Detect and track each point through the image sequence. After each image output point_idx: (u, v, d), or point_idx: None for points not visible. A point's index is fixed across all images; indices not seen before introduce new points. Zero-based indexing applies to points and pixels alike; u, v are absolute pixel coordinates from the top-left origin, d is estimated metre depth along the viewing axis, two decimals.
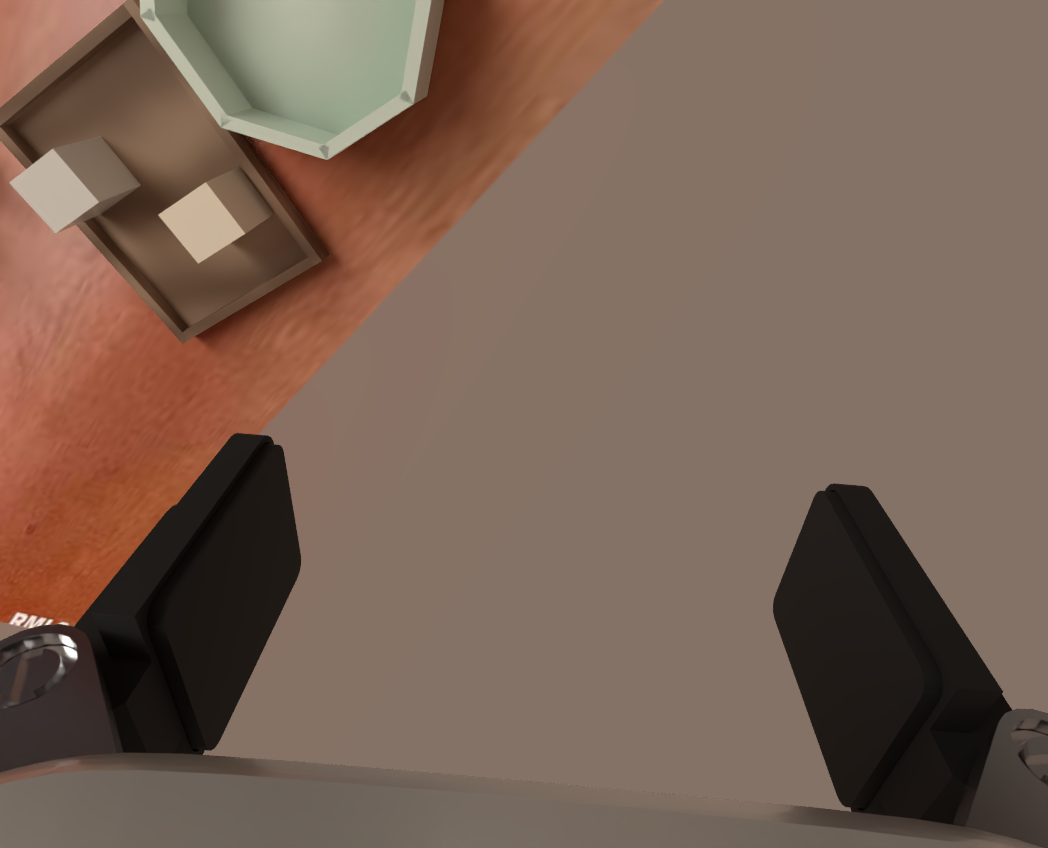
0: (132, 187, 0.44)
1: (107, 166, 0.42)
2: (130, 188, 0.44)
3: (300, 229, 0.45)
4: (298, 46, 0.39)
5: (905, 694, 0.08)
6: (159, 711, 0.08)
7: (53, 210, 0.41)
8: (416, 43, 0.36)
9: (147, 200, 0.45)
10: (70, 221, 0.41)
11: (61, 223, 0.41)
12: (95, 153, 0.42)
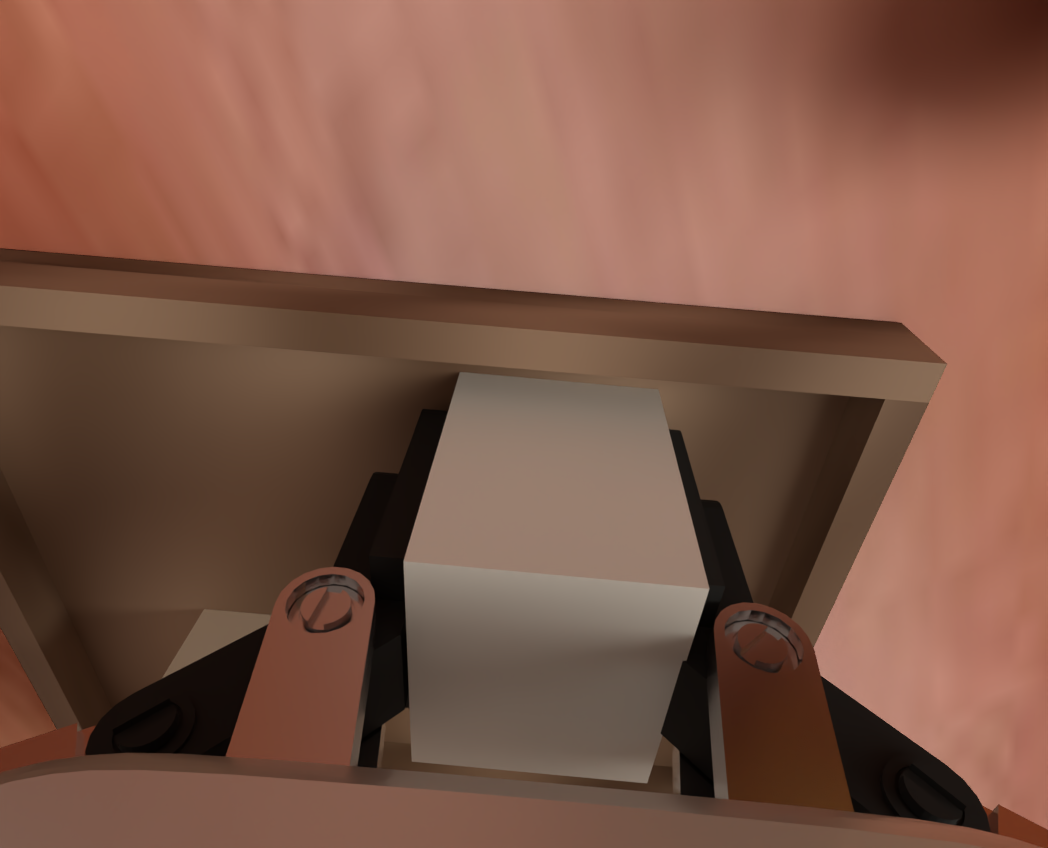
0: None
1: None
2: None
3: None
4: None
5: None
6: None
7: (490, 630, 0.08)
8: None
9: None
10: (411, 645, 0.08)
11: (425, 615, 0.08)
12: None
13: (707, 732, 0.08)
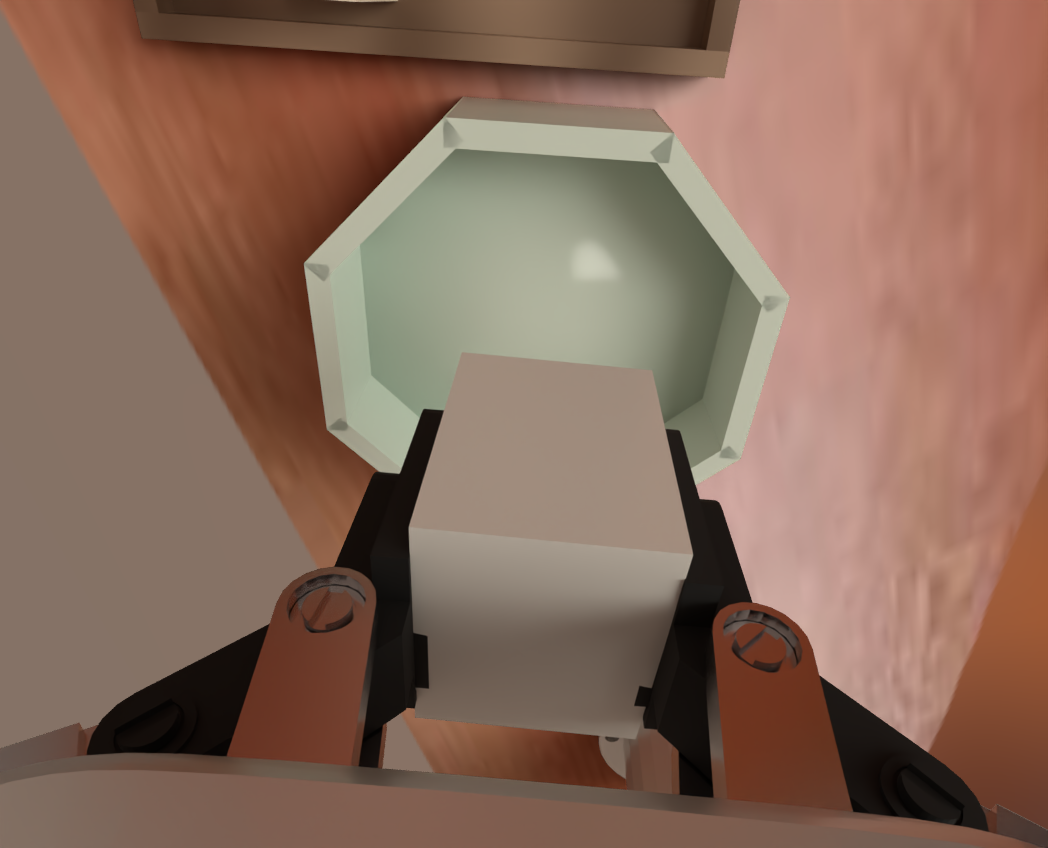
0: None
1: None
2: None
3: None
4: (500, 269, 0.24)
5: None
6: (409, 647, 0.09)
7: (489, 593, 0.09)
8: None
9: None
10: (415, 606, 0.09)
11: (429, 578, 0.09)
12: None
13: (706, 732, 0.08)
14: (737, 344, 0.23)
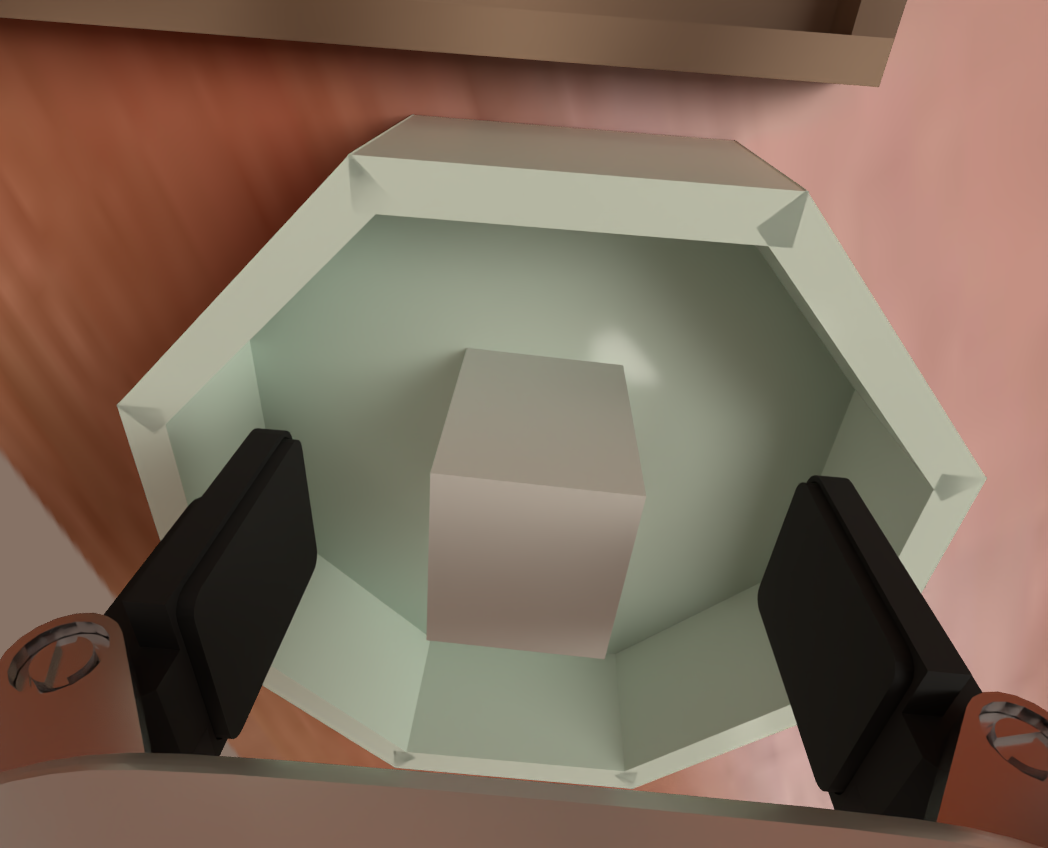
0: None
1: None
2: None
3: None
4: None
5: (878, 678, 0.08)
6: (186, 698, 0.08)
7: (490, 529, 0.11)
8: (305, 699, 0.16)
9: None
10: (432, 540, 0.11)
11: (443, 516, 0.11)
12: None
13: None
14: None
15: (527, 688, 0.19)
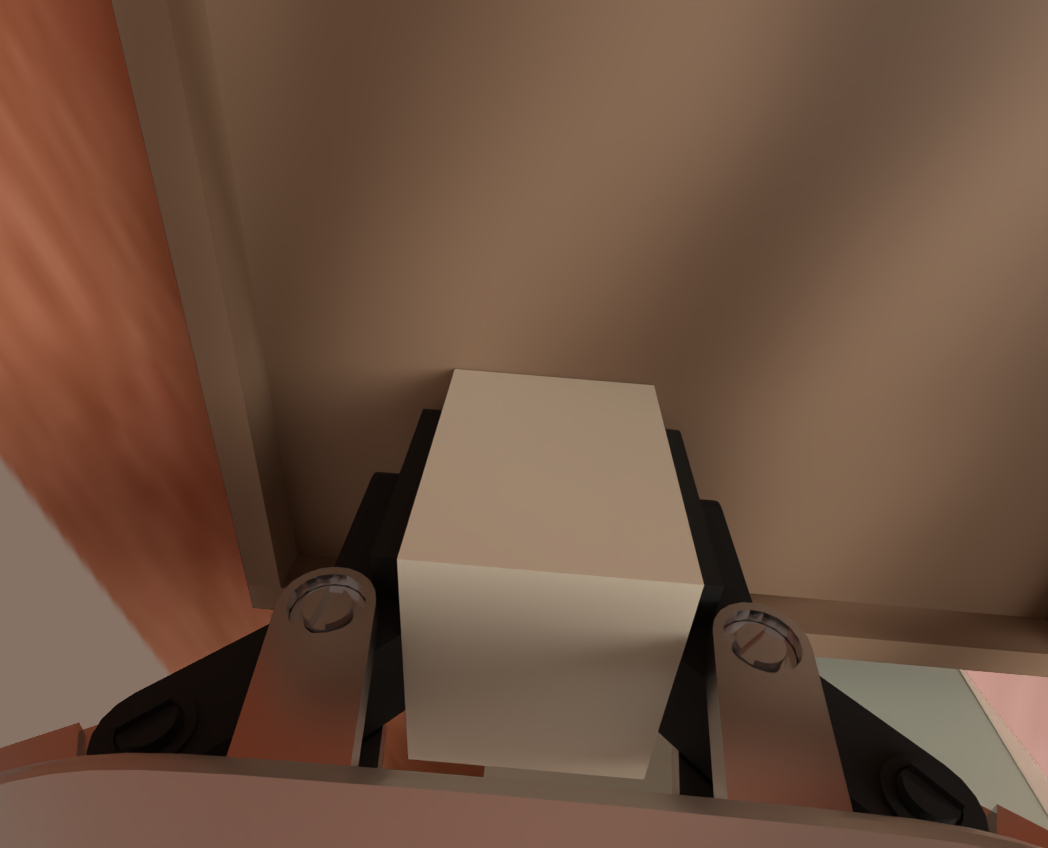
0: None
1: None
2: None
3: None
4: None
5: None
6: None
7: None
8: None
9: (786, 217, 0.10)
10: None
11: None
12: None
13: (706, 732, 0.08)
14: None
15: None
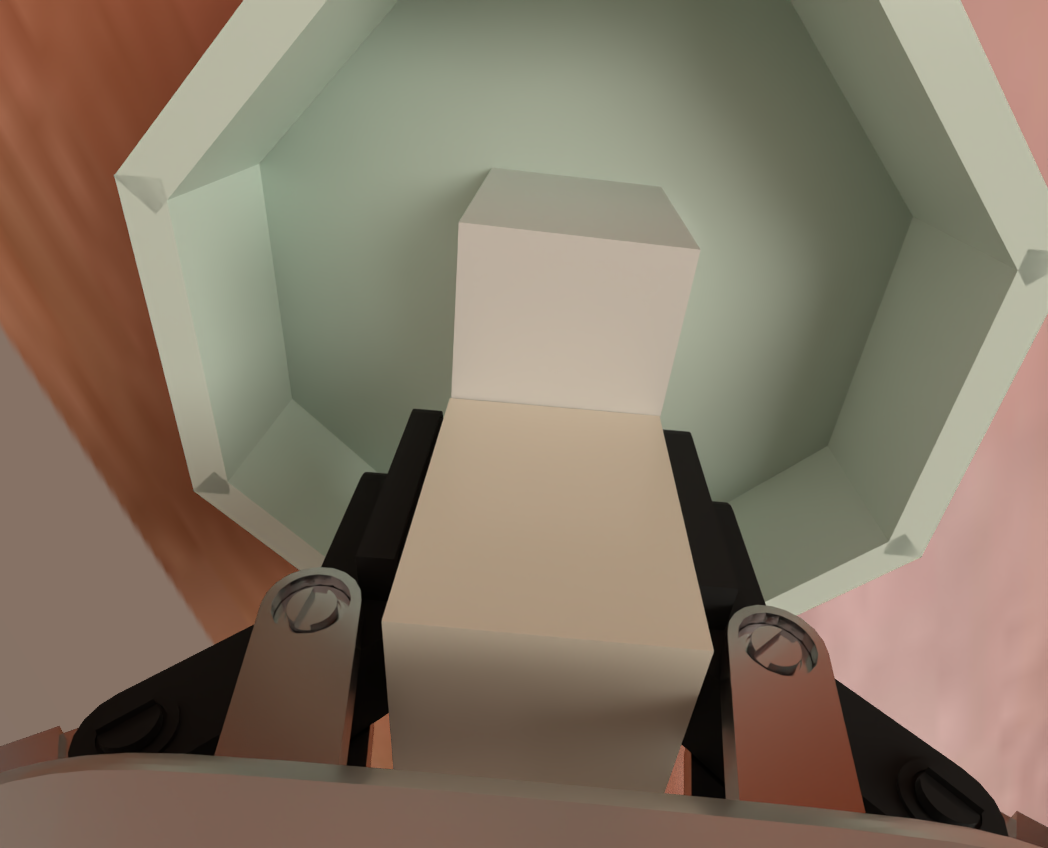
0: None
1: None
2: None
3: None
4: None
5: None
6: None
7: (523, 300, 0.10)
8: (314, 565, 0.15)
9: None
10: (458, 318, 0.10)
11: (472, 282, 0.10)
12: None
13: (721, 735, 0.08)
14: (931, 352, 0.12)
15: None
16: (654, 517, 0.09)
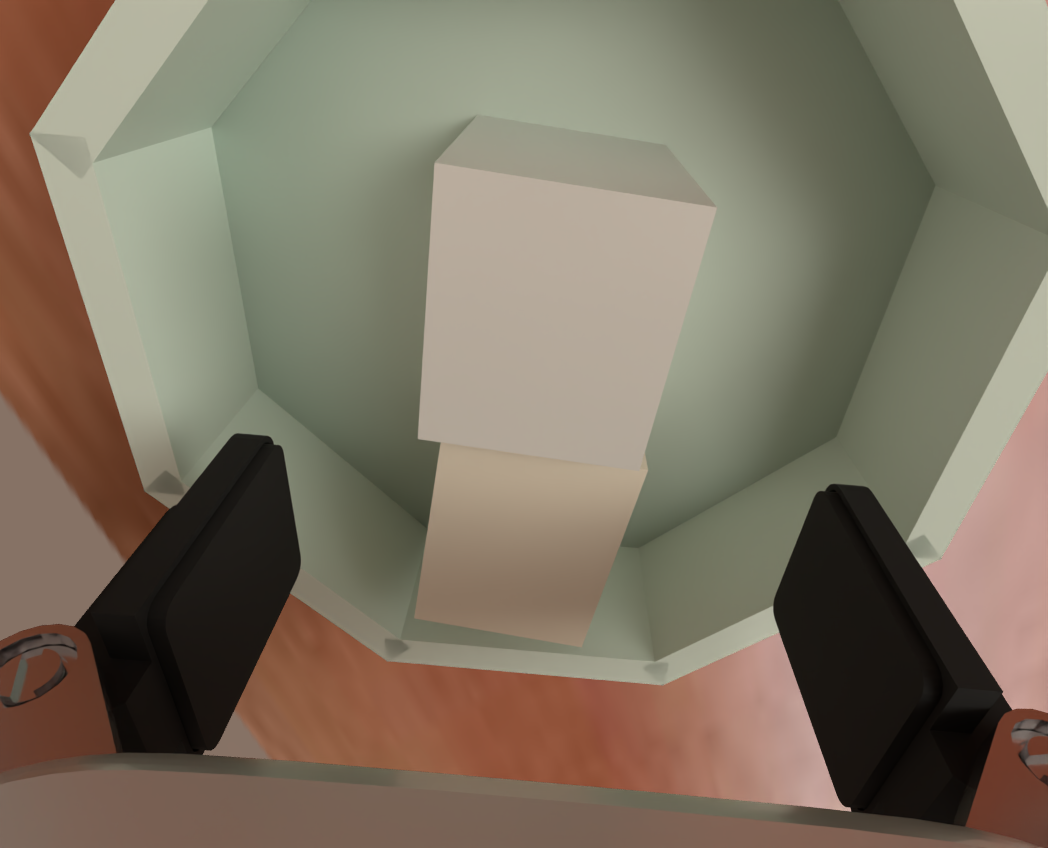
0: None
1: None
2: None
3: None
4: None
5: (905, 694, 0.08)
6: (159, 711, 0.08)
7: (508, 260, 0.09)
8: None
9: None
10: (431, 278, 0.09)
11: (449, 236, 0.08)
12: None
13: None
14: (956, 335, 0.11)
15: None
16: (588, 574, 0.12)
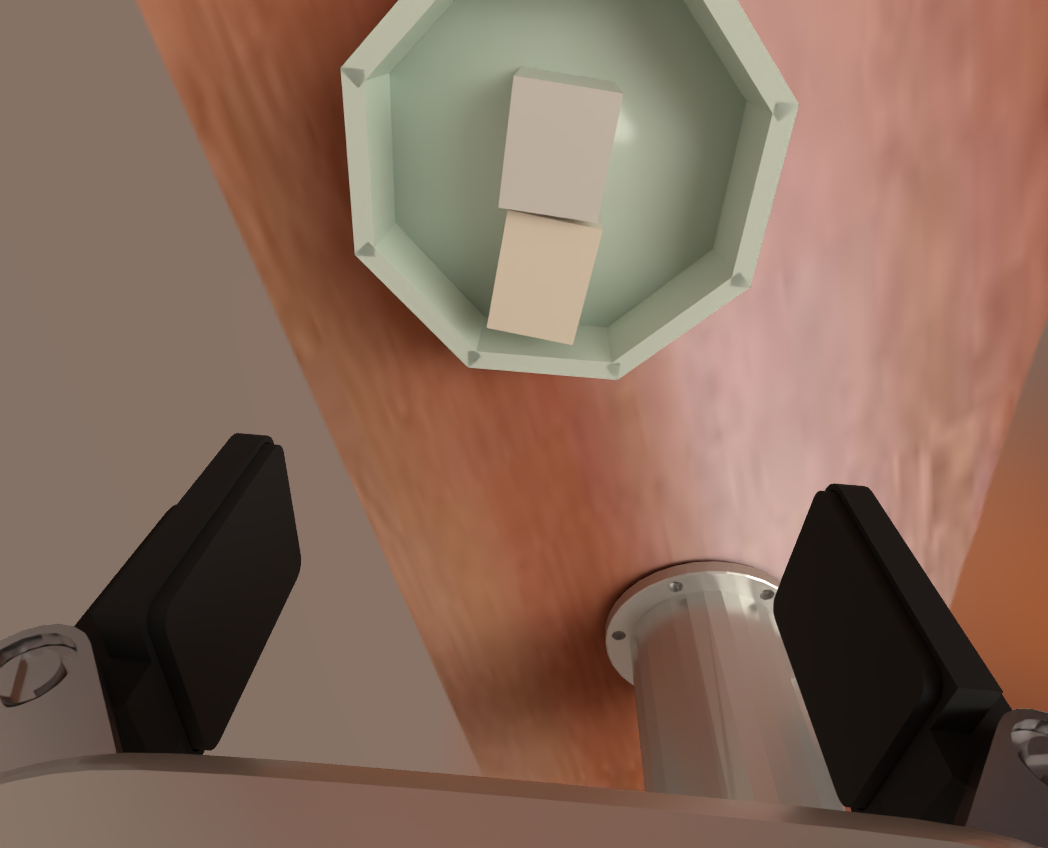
0: None
1: None
2: None
3: None
4: None
5: (905, 694, 0.08)
6: (159, 711, 0.08)
7: (541, 117, 0.21)
8: (417, 304, 0.26)
9: None
10: (509, 126, 0.21)
11: (517, 107, 0.21)
12: None
13: None
14: (748, 169, 0.24)
15: None
16: (575, 295, 0.25)
